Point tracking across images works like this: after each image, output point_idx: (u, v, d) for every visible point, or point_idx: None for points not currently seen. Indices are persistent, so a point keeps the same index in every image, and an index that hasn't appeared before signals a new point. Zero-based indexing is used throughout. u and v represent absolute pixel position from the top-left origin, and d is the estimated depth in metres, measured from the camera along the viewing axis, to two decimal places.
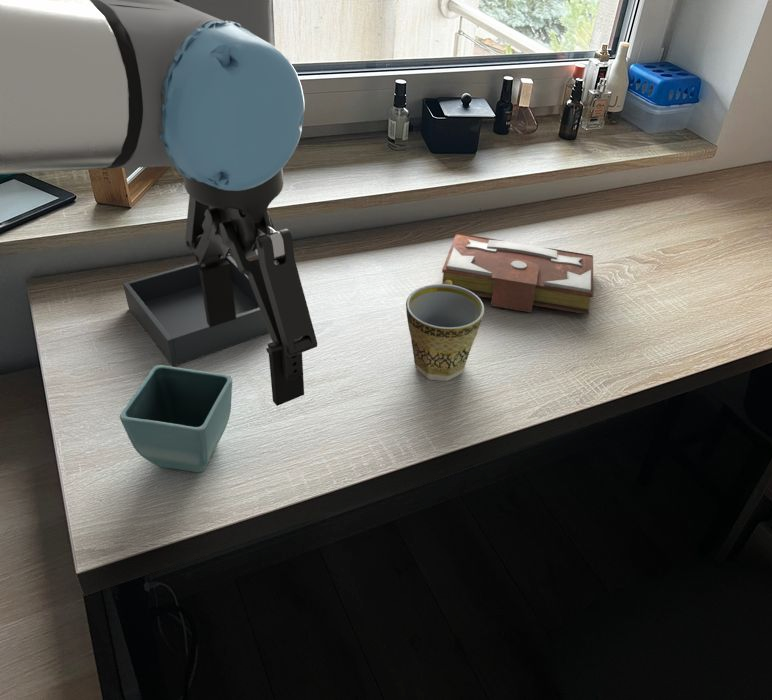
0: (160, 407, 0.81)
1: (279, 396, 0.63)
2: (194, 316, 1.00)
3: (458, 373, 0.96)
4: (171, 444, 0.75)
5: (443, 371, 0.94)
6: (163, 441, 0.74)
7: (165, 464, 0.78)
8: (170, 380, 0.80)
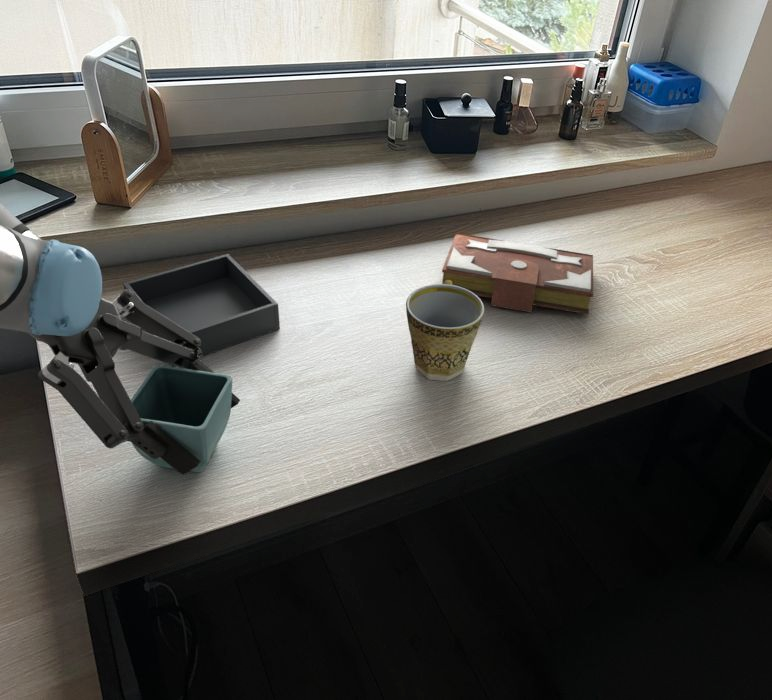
0: (160, 406, 0.81)
1: (176, 468, 0.75)
2: (194, 316, 1.00)
3: (458, 373, 0.96)
4: None
5: (443, 371, 0.94)
6: None
7: (165, 464, 0.78)
8: (170, 380, 0.80)
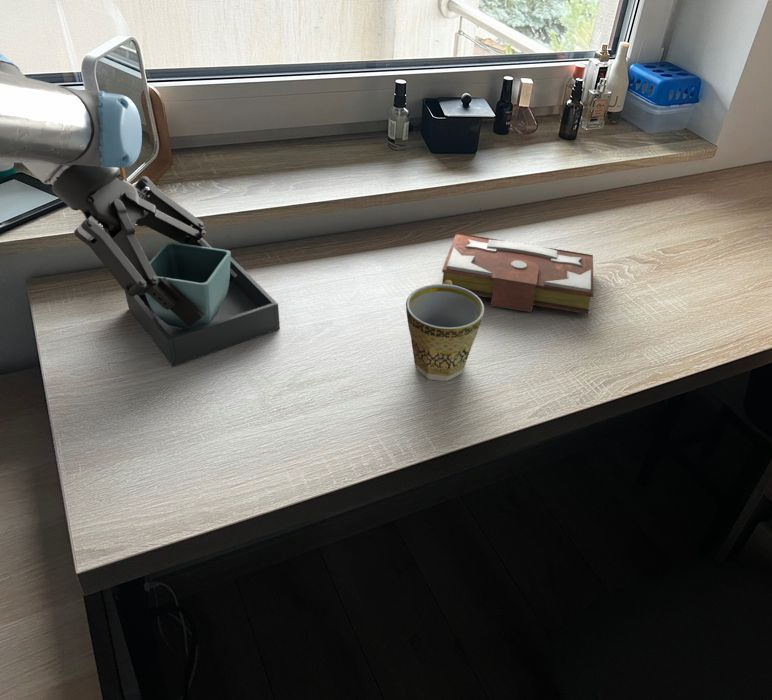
0: (170, 278, 0.97)
1: (184, 320, 0.91)
2: None
3: (458, 373, 0.96)
4: None
5: (443, 371, 0.94)
6: None
7: (174, 322, 0.94)
8: (179, 255, 0.96)
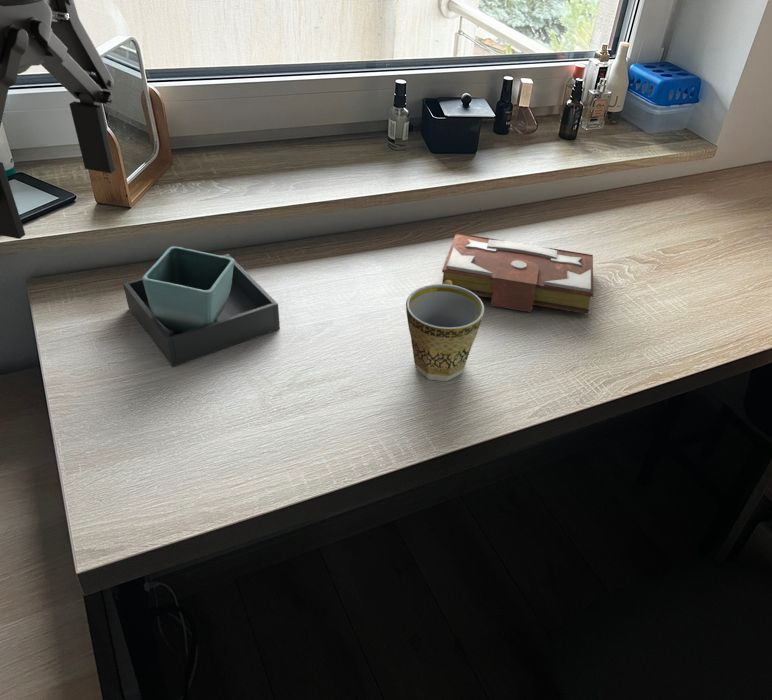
0: (172, 282, 0.97)
1: None
2: None
3: (458, 373, 0.96)
4: (182, 305, 0.92)
5: (443, 371, 0.94)
6: (176, 302, 0.91)
7: (174, 326, 0.95)
8: (182, 260, 0.97)
